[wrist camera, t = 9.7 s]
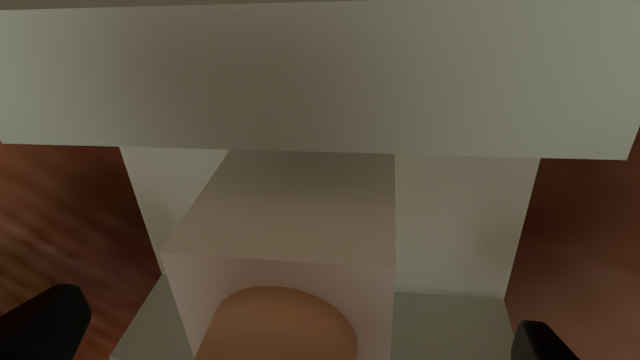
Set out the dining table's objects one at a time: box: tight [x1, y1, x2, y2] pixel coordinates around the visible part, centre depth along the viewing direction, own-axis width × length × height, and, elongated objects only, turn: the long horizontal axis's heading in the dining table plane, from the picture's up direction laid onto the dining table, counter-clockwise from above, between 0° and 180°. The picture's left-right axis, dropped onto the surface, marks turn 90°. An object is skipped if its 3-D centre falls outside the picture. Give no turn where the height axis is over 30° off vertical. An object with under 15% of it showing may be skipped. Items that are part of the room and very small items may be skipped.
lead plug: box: [159, 150, 396, 360], centre depth 9 cm, size 4×4×6 cm
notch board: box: [0, 0, 640, 360], centre depth 11 cm, size 11×13×4 cm
